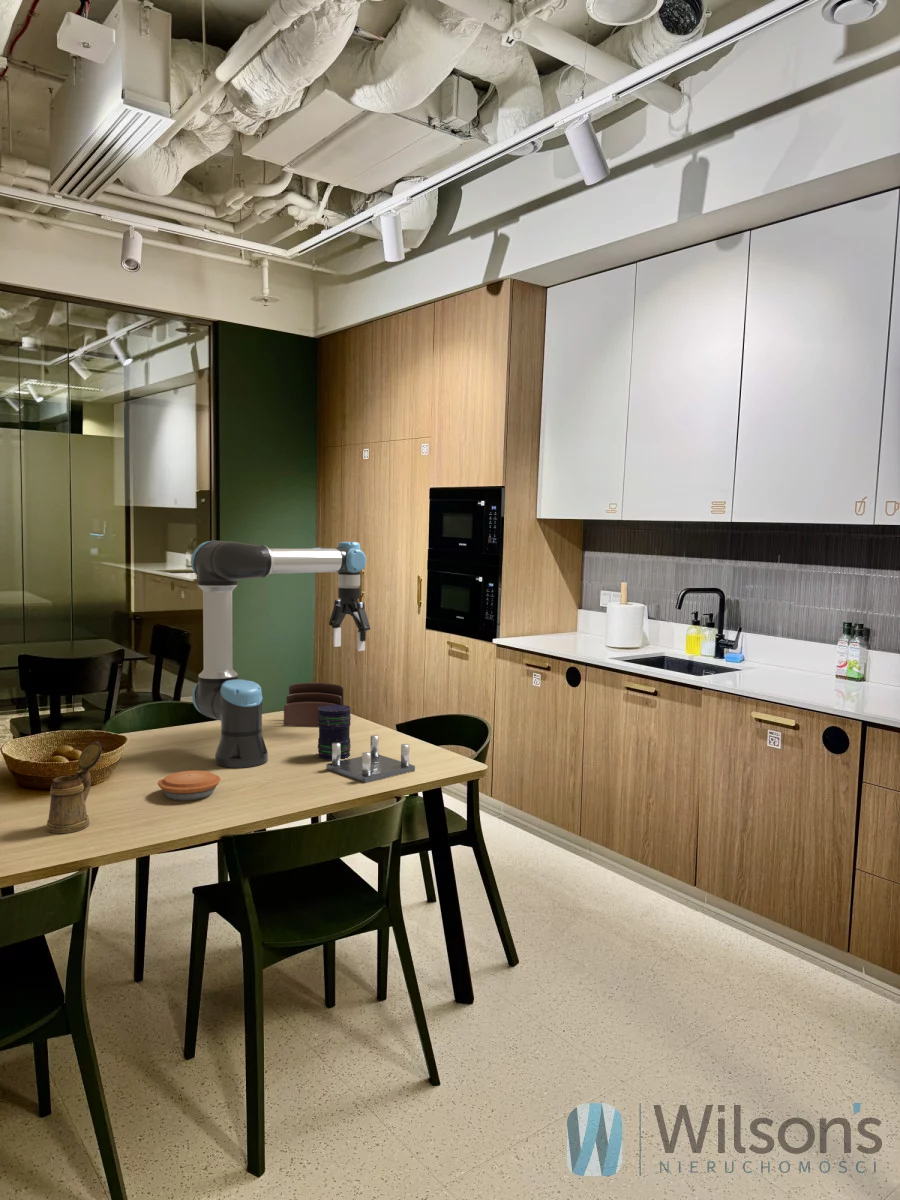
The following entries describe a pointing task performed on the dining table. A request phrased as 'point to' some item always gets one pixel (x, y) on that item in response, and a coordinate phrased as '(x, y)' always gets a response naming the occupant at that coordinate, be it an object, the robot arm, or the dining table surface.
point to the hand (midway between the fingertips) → (348, 648)
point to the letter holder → (310, 702)
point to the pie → (189, 785)
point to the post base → (376, 768)
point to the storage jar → (333, 730)
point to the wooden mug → (72, 795)
